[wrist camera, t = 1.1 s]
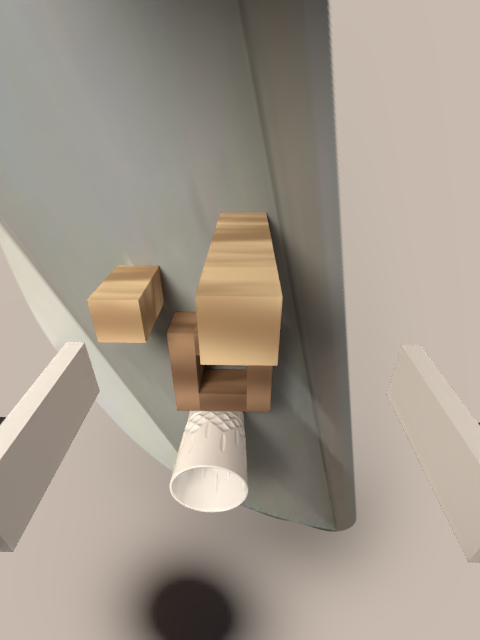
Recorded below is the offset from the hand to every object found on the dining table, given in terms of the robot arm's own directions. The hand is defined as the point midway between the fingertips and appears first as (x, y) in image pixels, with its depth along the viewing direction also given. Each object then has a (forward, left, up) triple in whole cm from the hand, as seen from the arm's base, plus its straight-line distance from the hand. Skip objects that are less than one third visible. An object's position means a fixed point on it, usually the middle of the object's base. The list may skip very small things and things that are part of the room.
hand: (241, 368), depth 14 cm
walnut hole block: (+13, -2, -18) cm, 23 cm away
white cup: (+23, -3, -19) cm, 30 cm away
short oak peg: (+5, -10, -18) cm, 22 cm away
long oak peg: (0, 0, -18) cm, 19 cm away
